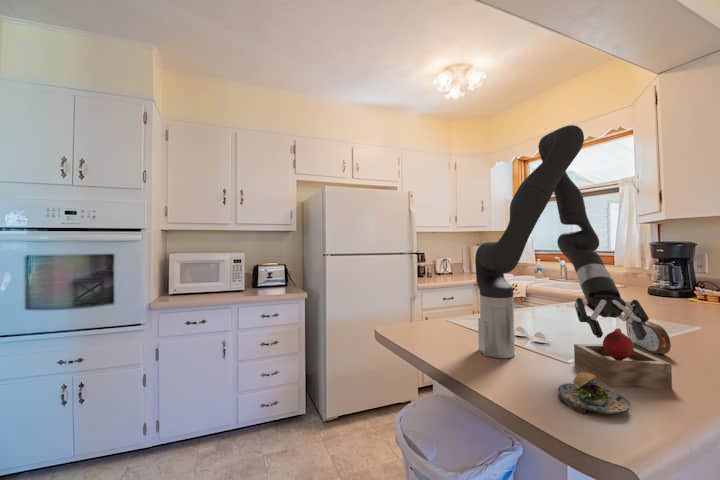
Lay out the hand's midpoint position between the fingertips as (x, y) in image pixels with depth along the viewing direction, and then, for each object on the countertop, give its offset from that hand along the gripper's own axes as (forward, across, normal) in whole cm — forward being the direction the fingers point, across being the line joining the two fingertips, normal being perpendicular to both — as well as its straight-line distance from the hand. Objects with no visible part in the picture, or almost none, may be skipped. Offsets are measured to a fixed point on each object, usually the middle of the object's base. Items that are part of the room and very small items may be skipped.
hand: (620, 337), depth 74 cm
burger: (+18, -12, -4) cm, 22 cm away
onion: (+4, 0, +6) cm, 7 cm away
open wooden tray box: (+6, 0, +8) cm, 10 cm away
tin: (-10, +18, +25) cm, 32 cm away
